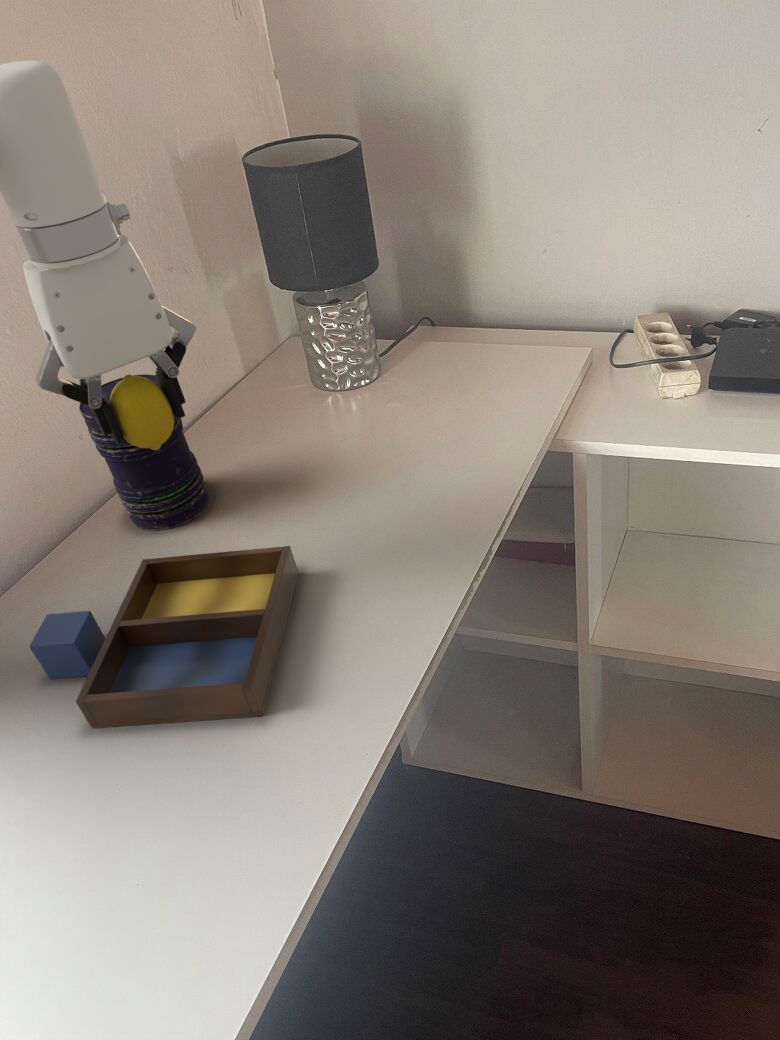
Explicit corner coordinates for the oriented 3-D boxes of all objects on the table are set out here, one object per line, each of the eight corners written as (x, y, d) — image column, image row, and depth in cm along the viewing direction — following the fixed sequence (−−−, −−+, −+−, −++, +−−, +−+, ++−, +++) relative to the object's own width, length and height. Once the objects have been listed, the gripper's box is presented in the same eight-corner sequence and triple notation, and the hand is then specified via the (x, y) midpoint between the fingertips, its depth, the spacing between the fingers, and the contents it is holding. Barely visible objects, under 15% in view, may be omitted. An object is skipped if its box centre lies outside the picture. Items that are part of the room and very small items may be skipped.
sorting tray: (91, 728, 78) (75, 701, 76) (154, 585, 93) (142, 559, 91) (262, 716, 76) (251, 688, 74) (298, 572, 91) (290, 545, 89)
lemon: (119, 453, 87) (87, 379, 81) (168, 429, 89) (140, 357, 84) (145, 470, 83) (113, 395, 78) (194, 445, 86) (167, 371, 80)
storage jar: (174, 537, 99) (124, 423, 90) (112, 523, 104) (58, 412, 94) (226, 489, 106) (185, 378, 96) (166, 478, 110) (121, 369, 100)
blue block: (49, 679, 84) (28, 646, 81) (66, 646, 87) (46, 614, 84) (93, 676, 83) (73, 642, 81) (108, 643, 87) (90, 610, 84)
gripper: (149, 198, 78) (211, 381, 90) (-43, 258, 72) (50, 447, 84) (181, 213, 73) (242, 404, 85) (-23, 279, 67) (73, 476, 79)
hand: (146, 423), depth 84 cm, fingers closed on lemon, 5 cm apart
